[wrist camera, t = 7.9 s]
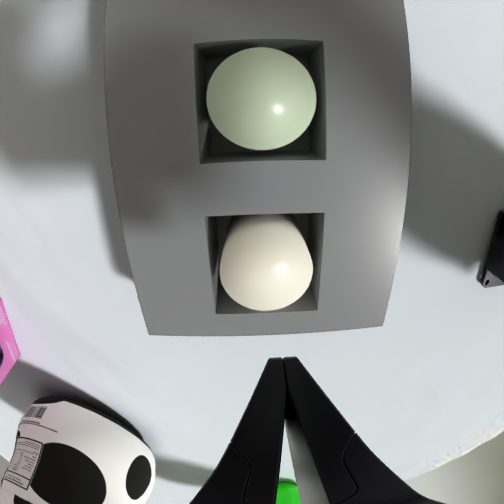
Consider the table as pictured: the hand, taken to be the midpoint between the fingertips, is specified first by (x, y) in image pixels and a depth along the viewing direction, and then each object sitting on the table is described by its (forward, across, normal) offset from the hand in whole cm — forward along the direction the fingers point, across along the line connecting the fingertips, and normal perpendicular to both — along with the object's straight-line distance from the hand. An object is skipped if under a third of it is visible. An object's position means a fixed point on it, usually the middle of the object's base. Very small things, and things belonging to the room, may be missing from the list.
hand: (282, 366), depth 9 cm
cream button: (+9, 0, 0) cm, 10 cm away
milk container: (+10, +21, +24) cm, 34 cm away
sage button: (+10, 0, -8) cm, 12 cm away
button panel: (+10, 0, -8) cm, 13 cm away
